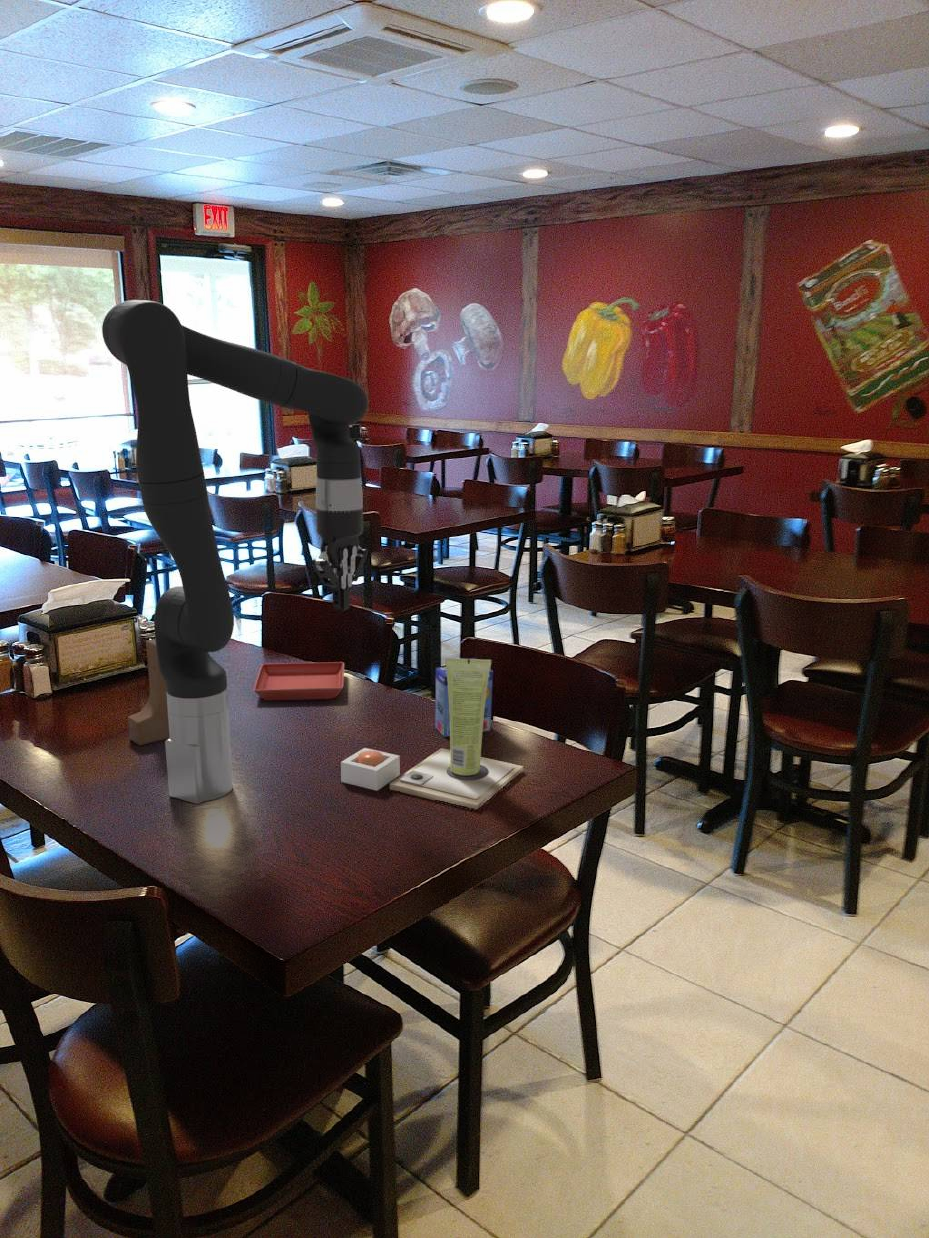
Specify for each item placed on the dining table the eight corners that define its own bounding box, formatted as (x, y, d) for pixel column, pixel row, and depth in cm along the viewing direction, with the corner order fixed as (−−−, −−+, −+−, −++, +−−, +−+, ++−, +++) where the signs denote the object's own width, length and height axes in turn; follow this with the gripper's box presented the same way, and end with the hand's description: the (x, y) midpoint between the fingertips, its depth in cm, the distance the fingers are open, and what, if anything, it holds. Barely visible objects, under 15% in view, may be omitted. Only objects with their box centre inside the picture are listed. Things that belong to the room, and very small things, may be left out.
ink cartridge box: (444, 738, 179) (444, 663, 175) (433, 728, 184) (433, 655, 180) (493, 731, 183) (494, 657, 179) (480, 721, 188) (482, 649, 184)
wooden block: (139, 746, 174) (131, 650, 169) (128, 739, 177) (120, 644, 172) (186, 734, 180) (179, 641, 175) (175, 727, 183) (168, 635, 178)
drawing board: (477, 811, 151) (477, 802, 150) (389, 789, 158) (389, 780, 157) (523, 771, 165) (523, 763, 165) (441, 753, 172) (441, 745, 172)
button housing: (376, 790, 157) (376, 770, 156) (341, 781, 160) (340, 762, 160) (399, 775, 163) (399, 755, 162) (364, 766, 166) (364, 747, 166)
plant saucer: (261, 677, 213) (261, 662, 212) (344, 675, 215) (344, 660, 214) (253, 705, 196) (252, 689, 195) (343, 703, 198) (343, 687, 197)
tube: (470, 761, 166) (472, 651, 161) (489, 771, 162) (491, 659, 157) (443, 769, 162) (444, 657, 157) (462, 779, 158) (464, 665, 154)
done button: (374, 781, 159) (373, 762, 158) (353, 776, 161) (353, 757, 160) (387, 773, 162) (387, 753, 162) (367, 768, 164) (367, 748, 163)
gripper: (333, 512, 150) (336, 621, 155) (381, 502, 161) (382, 604, 166) (295, 508, 154) (298, 614, 158) (344, 499, 165) (346, 598, 169)
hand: (341, 609), depth 162 cm, fingers closed
